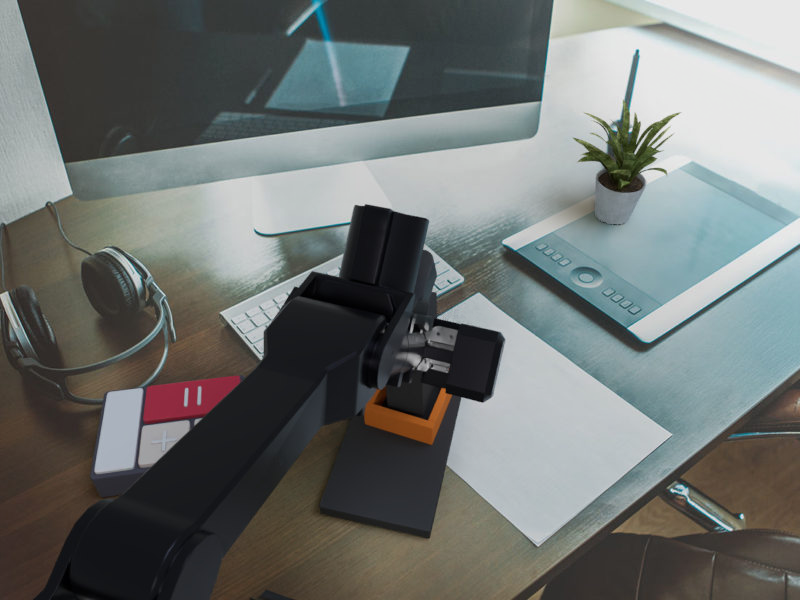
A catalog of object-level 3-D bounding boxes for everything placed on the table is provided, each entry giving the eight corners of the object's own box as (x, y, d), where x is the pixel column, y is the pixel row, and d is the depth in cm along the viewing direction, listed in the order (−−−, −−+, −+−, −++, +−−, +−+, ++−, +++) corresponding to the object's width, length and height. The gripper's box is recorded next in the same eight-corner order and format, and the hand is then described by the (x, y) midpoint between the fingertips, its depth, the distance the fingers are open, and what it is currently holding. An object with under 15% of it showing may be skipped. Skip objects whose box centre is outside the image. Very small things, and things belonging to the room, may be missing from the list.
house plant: (615, 174, 106) (638, 78, 94) (683, 216, 97) (719, 116, 86) (548, 203, 100) (565, 105, 89) (615, 250, 92) (643, 149, 80)
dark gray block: (423, 416, 67) (420, 328, 59) (387, 406, 69) (379, 319, 60) (437, 380, 71) (436, 292, 62) (403, 372, 72) (397, 284, 63)
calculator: (246, 453, 65) (86, 475, 62) (251, 476, 67) (99, 498, 65) (244, 369, 72) (102, 386, 70) (249, 393, 75) (112, 410, 73)
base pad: (429, 539, 62) (430, 516, 59) (320, 514, 64) (315, 490, 61) (463, 387, 75) (465, 361, 72) (371, 370, 77) (369, 344, 74)
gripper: (512, 269, 49) (523, 283, 64) (287, 223, 53) (347, 247, 68) (480, 413, 49) (499, 394, 64) (258, 356, 53) (324, 350, 68)
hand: (415, 342), depth 66 cm, fingers closed on dark gray block, 4 cm apart
